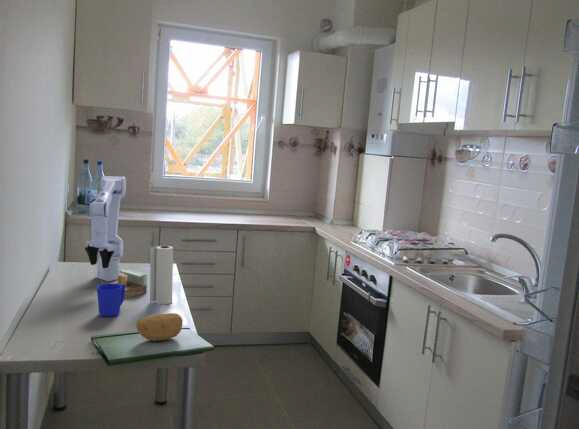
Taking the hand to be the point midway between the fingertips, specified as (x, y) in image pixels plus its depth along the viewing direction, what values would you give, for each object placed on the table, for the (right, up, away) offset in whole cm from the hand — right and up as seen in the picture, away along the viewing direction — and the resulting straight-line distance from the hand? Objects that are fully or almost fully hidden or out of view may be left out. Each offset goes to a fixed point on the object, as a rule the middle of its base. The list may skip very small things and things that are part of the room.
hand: (99, 266), depth 214 cm
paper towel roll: (+27, -13, -9) cm, 31 cm away
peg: (+9, -11, 0) cm, 14 cm away
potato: (+35, -19, -46) cm, 61 cm away
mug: (+13, -14, -24) cm, 31 cm away
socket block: (+9, -11, -1) cm, 14 cm away
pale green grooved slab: (+12, -10, +4) cm, 16 cm away
